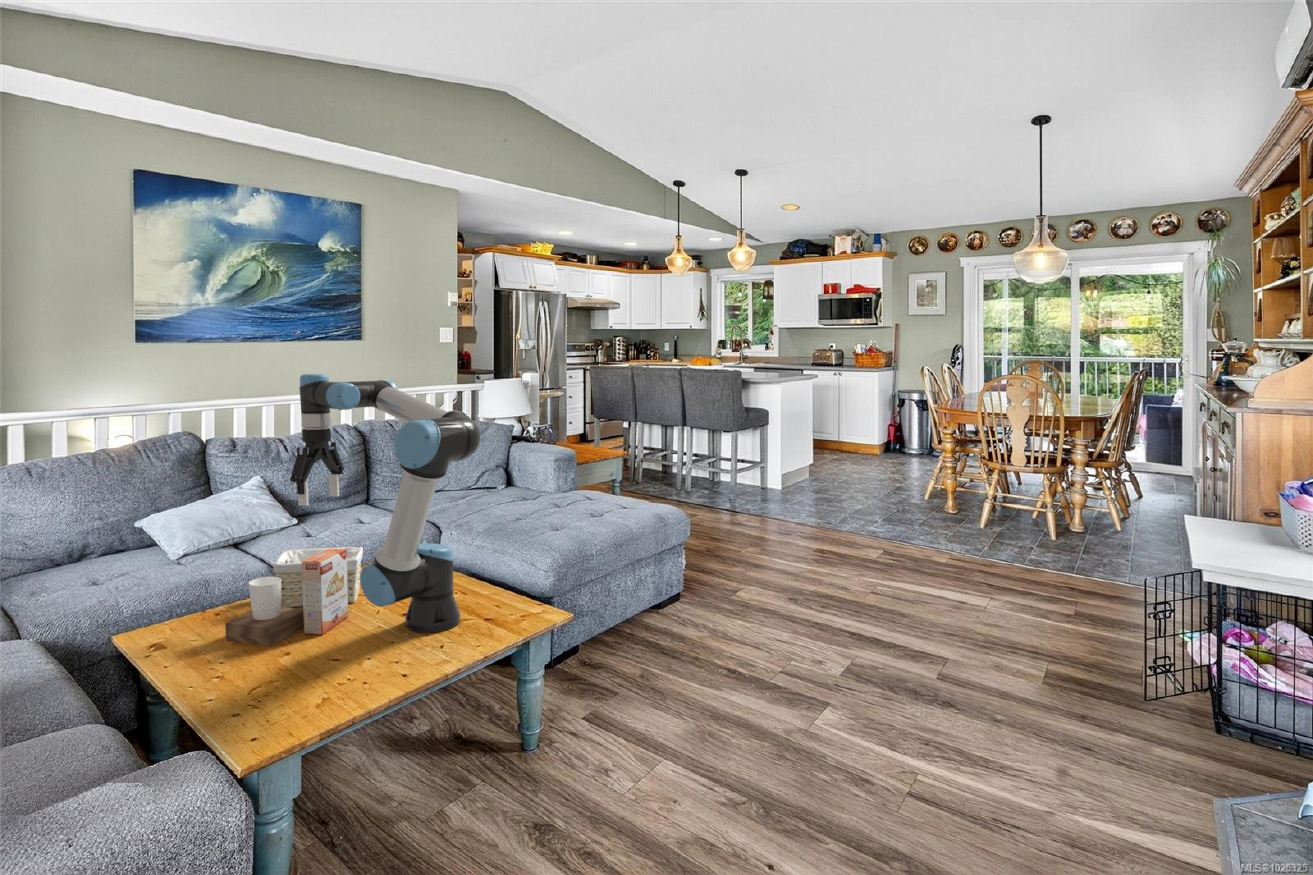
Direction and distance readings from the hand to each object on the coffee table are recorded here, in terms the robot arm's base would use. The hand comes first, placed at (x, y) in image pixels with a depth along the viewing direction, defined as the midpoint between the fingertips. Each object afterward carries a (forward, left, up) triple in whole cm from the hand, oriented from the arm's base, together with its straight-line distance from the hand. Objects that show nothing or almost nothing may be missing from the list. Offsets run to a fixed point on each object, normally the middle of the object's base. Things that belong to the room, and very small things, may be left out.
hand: (319, 500), depth 207 cm
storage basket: (+10, -12, -35) cm, 38 cm away
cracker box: (-6, +7, -35) cm, 36 cm away
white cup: (+6, +16, -30) cm, 34 cm away
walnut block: (+6, +16, -35) cm, 38 cm away
